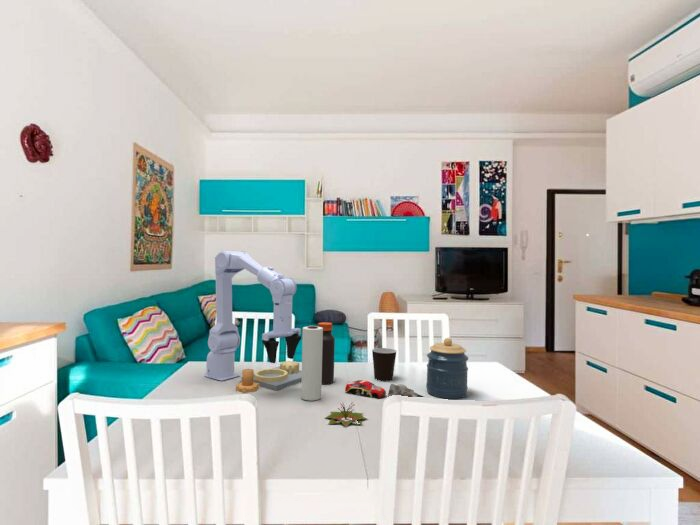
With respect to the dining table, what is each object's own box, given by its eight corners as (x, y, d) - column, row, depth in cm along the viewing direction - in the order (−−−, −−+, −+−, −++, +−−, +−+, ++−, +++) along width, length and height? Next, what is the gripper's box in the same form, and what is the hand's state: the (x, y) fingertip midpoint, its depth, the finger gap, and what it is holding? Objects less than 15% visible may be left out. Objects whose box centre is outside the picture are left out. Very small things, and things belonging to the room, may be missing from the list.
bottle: (321, 386, 140) (323, 325, 140) (309, 381, 145) (311, 322, 145) (337, 382, 145) (339, 323, 145) (325, 378, 150) (326, 321, 150)
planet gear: (231, 389, 134) (232, 370, 134) (247, 384, 140) (248, 366, 140) (247, 394, 130) (247, 374, 130) (263, 388, 136) (263, 370, 136)
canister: (440, 384, 146) (442, 333, 145) (475, 393, 136) (476, 338, 136) (417, 392, 136) (419, 337, 136) (453, 402, 127) (454, 343, 127)
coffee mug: (388, 383, 145) (389, 354, 145) (366, 379, 150) (367, 350, 149) (403, 376, 155) (404, 348, 155) (382, 372, 159) (383, 345, 159)
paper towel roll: (316, 402, 124) (317, 329, 124) (297, 399, 126) (299, 327, 126) (325, 395, 131) (327, 326, 131) (308, 392, 133) (309, 324, 133)
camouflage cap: (424, 412, 125) (424, 419, 116) (387, 401, 128) (384, 407, 118) (430, 390, 126) (430, 395, 116) (393, 379, 128) (390, 383, 119)
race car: (388, 396, 133) (389, 383, 133) (381, 401, 128) (382, 387, 128) (351, 388, 139) (351, 376, 139) (343, 393, 134) (343, 380, 134)
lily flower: (325, 411, 118) (325, 395, 118) (368, 413, 118) (368, 397, 118) (321, 429, 106) (321, 410, 106) (369, 430, 106) (369, 412, 106)
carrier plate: (241, 381, 143) (241, 368, 143) (279, 370, 159) (280, 358, 159) (276, 390, 134) (276, 376, 134) (313, 377, 150) (313, 364, 150)
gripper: (273, 320, 124) (272, 366, 125) (308, 316, 136) (307, 358, 136) (258, 318, 129) (256, 362, 129) (292, 313, 140) (291, 355, 140)
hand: (281, 360), depth 133 cm, fingers open, 7 cm apart
